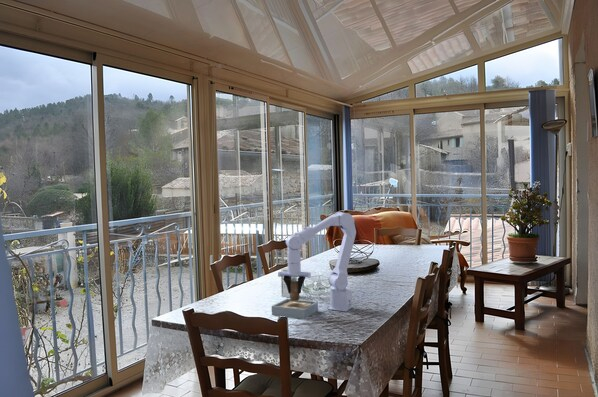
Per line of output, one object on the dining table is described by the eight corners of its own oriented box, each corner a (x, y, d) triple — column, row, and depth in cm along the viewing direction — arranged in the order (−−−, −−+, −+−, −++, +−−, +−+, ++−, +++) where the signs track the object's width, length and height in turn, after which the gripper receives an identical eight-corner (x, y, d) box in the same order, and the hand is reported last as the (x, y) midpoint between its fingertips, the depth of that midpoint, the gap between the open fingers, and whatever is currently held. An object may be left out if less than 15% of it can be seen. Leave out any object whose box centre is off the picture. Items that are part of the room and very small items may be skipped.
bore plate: (311, 309, 225) (311, 303, 225) (300, 316, 215) (300, 309, 215) (290, 307, 230) (290, 301, 230) (278, 313, 220) (278, 307, 220)
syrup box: (288, 294, 258) (288, 266, 257) (297, 295, 254) (296, 267, 253) (281, 296, 253) (280, 268, 252) (290, 298, 249) (289, 269, 249)
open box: (318, 310, 225) (317, 301, 225) (304, 319, 213) (304, 309, 213) (287, 307, 232) (286, 298, 232) (271, 314, 220) (271, 305, 220)
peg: (300, 298, 224) (299, 280, 224) (298, 300, 220) (297, 282, 220) (291, 298, 225) (291, 280, 224) (289, 300, 221) (289, 282, 221)
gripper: (311, 261, 224) (312, 291, 224) (280, 260, 227) (281, 290, 228) (308, 264, 217) (309, 295, 217) (276, 263, 220) (277, 293, 221)
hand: (294, 292), depth 222 cm, fingers closed on peg, 4 cm apart
